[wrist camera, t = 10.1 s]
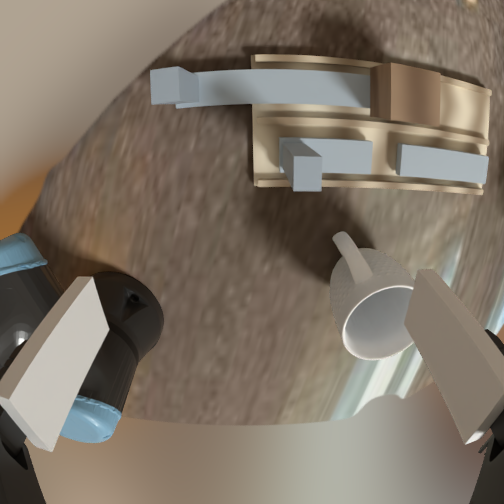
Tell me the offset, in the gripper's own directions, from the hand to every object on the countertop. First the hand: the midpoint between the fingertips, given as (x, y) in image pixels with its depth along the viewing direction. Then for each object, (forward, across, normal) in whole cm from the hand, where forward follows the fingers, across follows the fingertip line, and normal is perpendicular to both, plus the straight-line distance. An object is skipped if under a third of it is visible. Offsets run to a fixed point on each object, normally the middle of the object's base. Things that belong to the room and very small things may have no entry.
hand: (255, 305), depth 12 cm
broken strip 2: (+27, +26, +1) cm, 38 cm away
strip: (+27, +7, +9) cm, 30 cm away
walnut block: (+26, +17, +10) cm, 32 cm away
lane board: (+29, +17, +6) cm, 34 cm away
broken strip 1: (+27, +9, +1) cm, 29 cm away
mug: (+29, +14, -14) cm, 35 cm away
